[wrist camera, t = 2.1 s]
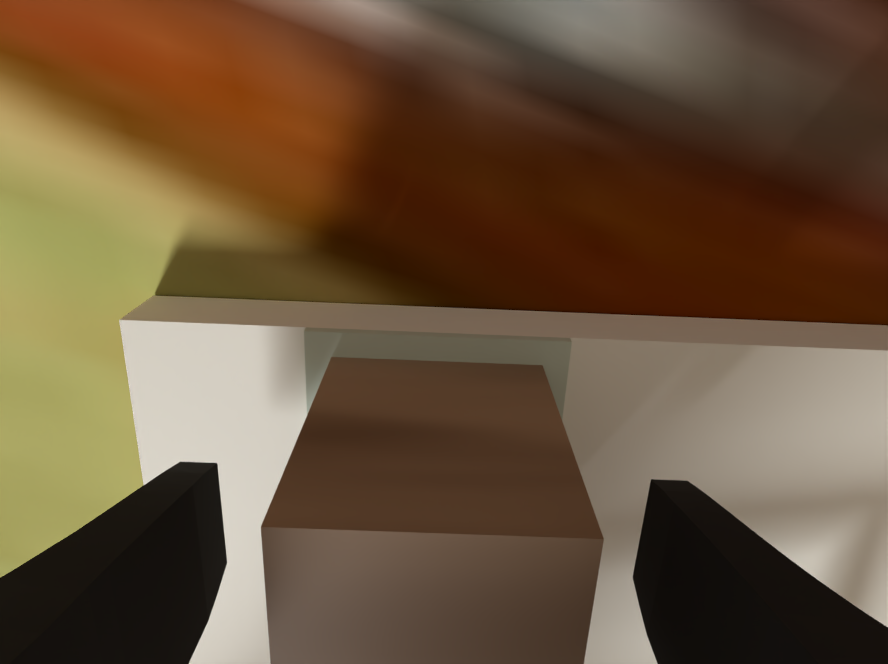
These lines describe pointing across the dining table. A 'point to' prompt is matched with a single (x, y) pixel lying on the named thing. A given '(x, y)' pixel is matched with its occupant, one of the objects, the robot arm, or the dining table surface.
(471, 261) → the dining table surface
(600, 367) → the board
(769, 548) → the robot arm
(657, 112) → the dining table surface
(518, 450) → the walnut block
